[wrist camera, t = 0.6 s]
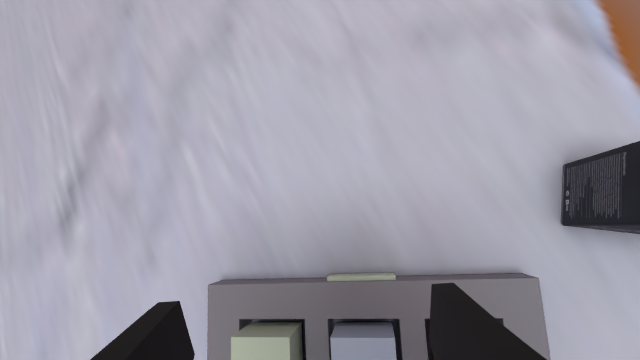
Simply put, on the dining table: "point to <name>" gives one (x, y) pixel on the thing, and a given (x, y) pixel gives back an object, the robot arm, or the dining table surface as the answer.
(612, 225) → the box
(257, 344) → the sage button
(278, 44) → the dining table surface
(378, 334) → the slate button
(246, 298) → the button panel
